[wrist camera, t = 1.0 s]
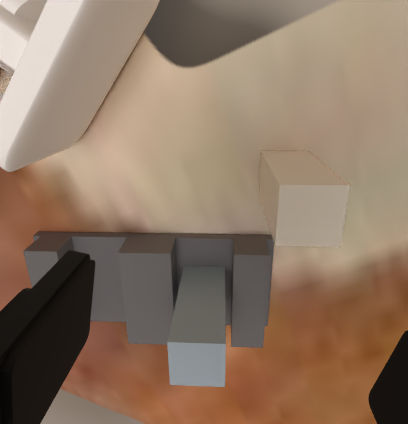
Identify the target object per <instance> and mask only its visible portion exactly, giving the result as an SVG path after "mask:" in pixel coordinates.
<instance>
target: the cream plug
mask: <svg viewBox="0 0 408 424" xmlns="http://www.w3.org/2000/svg"><path fill="white" fill-rule="evenodd" d="M349 191H350V185H349V184H348V183H347V182H346V181H344V180H343V179H342V178H341V177H340V176H338V175H337V174H336V173H335V172H333V171H332V170H331V169H330V168H328V167H327V166H326V165H325V164H323V163H322V162H321V161H320V160H319V159H317V158H316V157H315V156H314V155H312V154H311V153H310V152H309V151H261V165H260V183H259V197H260V200H261V203H262V206H263V210H264V213H265V216H266V219H267V222H268V225H269V229H270V232H271V235H272V238H273V241H274V244H275V246H289V247H340V246H341V240H342V234H343V228H344V222H345V216H346V210H347V204H348V197H349Z"/></svg>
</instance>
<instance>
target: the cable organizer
mask: <svg viewBox="0 0 408 424" xmlns="http://www.w3.org/2000/svg"><path fill="white" fill-rule="evenodd" d="M159 1H160V0H0V67H1V68H2V69H4V70H5V71H7V74H6V76H5V77H8V76H10V75H13V76H12V78H11V80H10V82H9V84H8V87H7V89H6V91H5V93H2V94H0V99H1V101H0V167H1V168H3V169H4V170H6V171H8V172H12V171H15V170H17V169H20V168H22V167H24V166H27V165H29V164H32V163H34V162H36V161H39V160H41V159H43V158H46V157H48V156H51V155H53V154H55V153H58V152H60V151H62V150H65V149H67V148H69V147H71V146H72V145H74V144H75V143H76V142H77V141H78V140H79V138H80V137H81V136H82V135H83V133H84V132H85V131H86V129H87V128H88V126H89V124H90V123H91V121H92V119H93V118H94V116H95V114H96V112H97V111H98V109H99V107H100V106H101V104H102V102H103V100H104V99H105V97H106V95H107V93H108V92H109V90H110V88H111V87H112V85H113V83H114V81H115V80H116V78H117V76H118V75H119V73H120V71H121V69H122V68H123V66H124V64H125V62H126V61H127V59H128V57H129V56H130V54H131V52H132V50H133V49H134V47H135V45H136V44H137V42H138V40H139V38H140V37H141V35H142V33H143V31H144V30H145V28H146V26H147V25H148V23H149V21H150V19H151V18H152V16H153V14H154V12H155V10H156V8H157V6H158V4H159ZM5 77H4V78H5Z"/></svg>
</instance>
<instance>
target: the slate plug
mask: <svg viewBox="0 0 408 424" xmlns="http://www.w3.org/2000/svg"><path fill="white" fill-rule="evenodd" d="M167 344H168V359H169V374H170V385H188V386H214V387H225V352H226V329H225V267H208V266H184V267H183V272H182V276H181V281H180V286H179V290H178V295H177V300H176V304H175V309H174V314H173V318H172V323H171V328H170V332H169V337H168V341H167Z"/></svg>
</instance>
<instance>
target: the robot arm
mask: <svg viewBox="0 0 408 424" xmlns="http://www.w3.org/2000/svg"><path fill="white" fill-rule="evenodd" d="M94 275H95V261H94V260H91V259H90V255H89V254H87V253H82V252H78V251H73V250H69V251H67V252H66V253H65V254H64V255H63V257H62V258H61V259H60V260H59V261H58V262H57V263H56V264H55V265H54V266H53V267H52V268H51V269H50V270H49V271H48V272H47V273H46V274H45V275H44V276H43V277H42V278H41V279H40V280H39V281H38V282H37V283H36V284H35V285H34V286H33V287H32V288H31V289H30V288H26V289H23V290H22V291H21V292H19V293H18V294H17V295H16V296H15V297H14V298H13V299H12V300H11V301H10V302H9V303H8V304H7V305H6V306H5V307H4V308H3V309H2V310H1V311H0V424H40V423H41V421H42V419H43V418H44V416H45V414H46V412H47V411H48V409H49V407H50V405H51V403H52V401H53V400H54V398H55V396H56V395H57V393H58V391H59V389H60V387H61V386H62V384H63V382H64V380H65V378H66V377H67V375H68V373H69V371H70V370H71V368H72V366H73V364H74V362H75V361H76V359H77V357H78V355H79V353H80V352H81V350H82V348H83V346H84V345H85V343H86V340H87V338H88V335H89V330H90V319H91V308H92V297H93V286H94ZM369 405H370V408H371V410H372V413H373V415H374V417H375V420H376V422H377V424H408V331H405V332H404V334H403V335H402V337H401V339H400V341H399V342H398V344H397V346H396V348H395V349H394V351H393V353H392V354H391V356H390V358H389V360H388V361H387V363H386V365H385V367H384V368H383V370H382V372H381V374H380V375H379V377H378V379H377V381H376V382H375V384H374V386H373V388H372V389H371V391H370V393H369Z"/></svg>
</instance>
